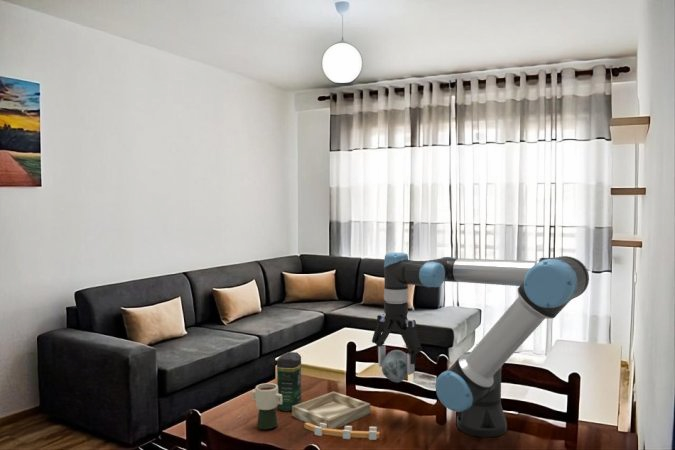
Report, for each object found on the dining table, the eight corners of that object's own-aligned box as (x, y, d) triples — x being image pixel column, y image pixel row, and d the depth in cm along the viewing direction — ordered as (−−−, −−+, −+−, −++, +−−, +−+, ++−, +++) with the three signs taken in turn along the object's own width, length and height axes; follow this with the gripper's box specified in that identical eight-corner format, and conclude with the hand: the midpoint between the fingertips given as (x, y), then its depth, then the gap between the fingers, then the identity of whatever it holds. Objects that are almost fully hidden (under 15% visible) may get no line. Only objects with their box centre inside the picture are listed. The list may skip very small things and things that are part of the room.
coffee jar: (297, 412, 181) (296, 358, 180) (274, 411, 182) (273, 357, 182) (304, 402, 190) (303, 350, 190) (282, 401, 192) (282, 349, 191)
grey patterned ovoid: (412, 376, 162) (399, 345, 166) (384, 388, 164) (371, 357, 167) (419, 373, 175) (406, 344, 178) (393, 385, 177) (381, 356, 180)
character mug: (288, 425, 171) (287, 385, 170) (277, 434, 164) (276, 392, 163) (258, 420, 175) (257, 381, 174) (246, 429, 168) (245, 388, 168)
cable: (380, 436, 162) (380, 431, 162) (377, 441, 158) (377, 437, 158) (305, 426, 170) (305, 422, 169) (301, 431, 166) (301, 427, 166)
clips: (378, 434, 163) (378, 426, 163) (376, 441, 158) (375, 433, 158) (317, 429, 167) (317, 422, 167) (313, 436, 162) (313, 428, 162)
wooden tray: (370, 414, 179) (370, 403, 179) (328, 431, 165) (328, 420, 165) (333, 401, 191) (333, 391, 191) (292, 416, 177) (291, 406, 177)
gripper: (433, 304, 165) (433, 375, 166) (375, 295, 181) (375, 359, 182) (419, 308, 159) (418, 380, 160) (360, 298, 176) (361, 364, 177)
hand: (396, 369), depth 171 cm, fingers closed on grey patterned ovoid, 11 cm apart
